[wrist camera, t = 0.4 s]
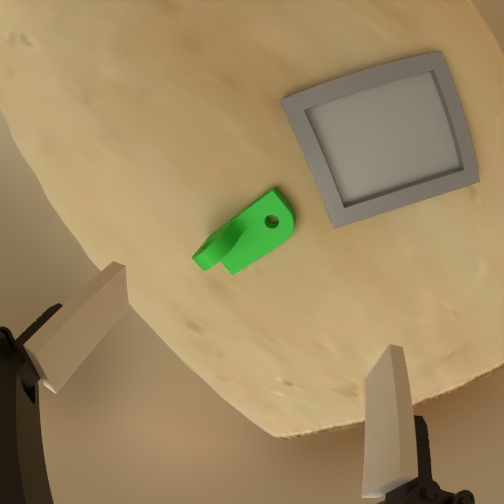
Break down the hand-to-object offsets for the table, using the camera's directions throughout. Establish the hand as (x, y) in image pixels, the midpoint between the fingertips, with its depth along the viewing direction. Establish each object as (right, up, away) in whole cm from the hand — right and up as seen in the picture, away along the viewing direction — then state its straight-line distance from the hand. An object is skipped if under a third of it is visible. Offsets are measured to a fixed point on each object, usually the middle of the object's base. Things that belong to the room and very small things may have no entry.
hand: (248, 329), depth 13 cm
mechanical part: (+1, +7, +26) cm, 27 cm away
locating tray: (+16, +17, +16) cm, 28 cm away
